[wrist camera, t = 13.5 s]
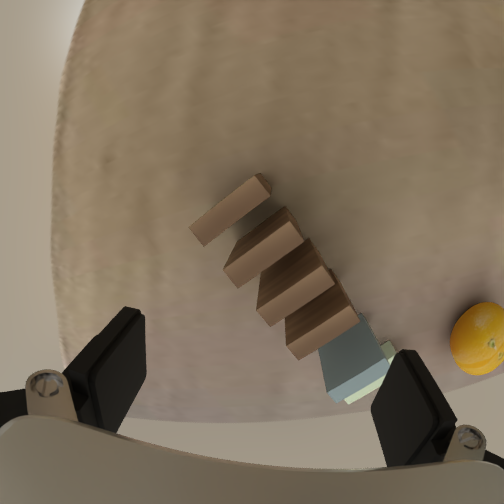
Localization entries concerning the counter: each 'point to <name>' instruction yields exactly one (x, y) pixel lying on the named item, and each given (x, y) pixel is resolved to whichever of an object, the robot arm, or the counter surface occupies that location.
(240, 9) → the counter surface
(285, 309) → the domino
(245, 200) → the domino
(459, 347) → the fruit
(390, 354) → the block
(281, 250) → the domino
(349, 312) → the domino
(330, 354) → the domino
